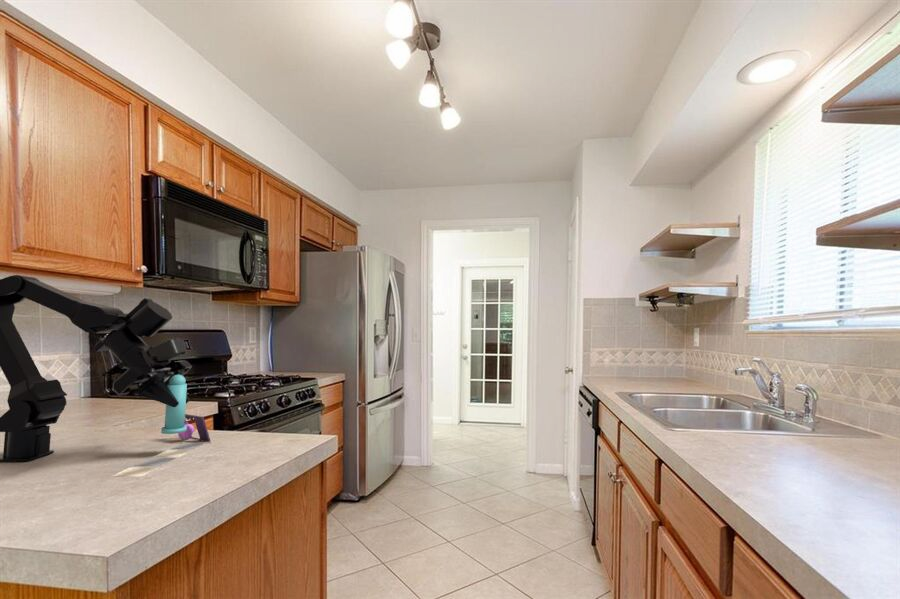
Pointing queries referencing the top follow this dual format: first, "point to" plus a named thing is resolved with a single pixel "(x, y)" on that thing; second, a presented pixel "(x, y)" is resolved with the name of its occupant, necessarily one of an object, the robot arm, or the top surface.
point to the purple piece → (190, 429)
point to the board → (159, 459)
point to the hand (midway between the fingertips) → (182, 404)
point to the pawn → (176, 414)
